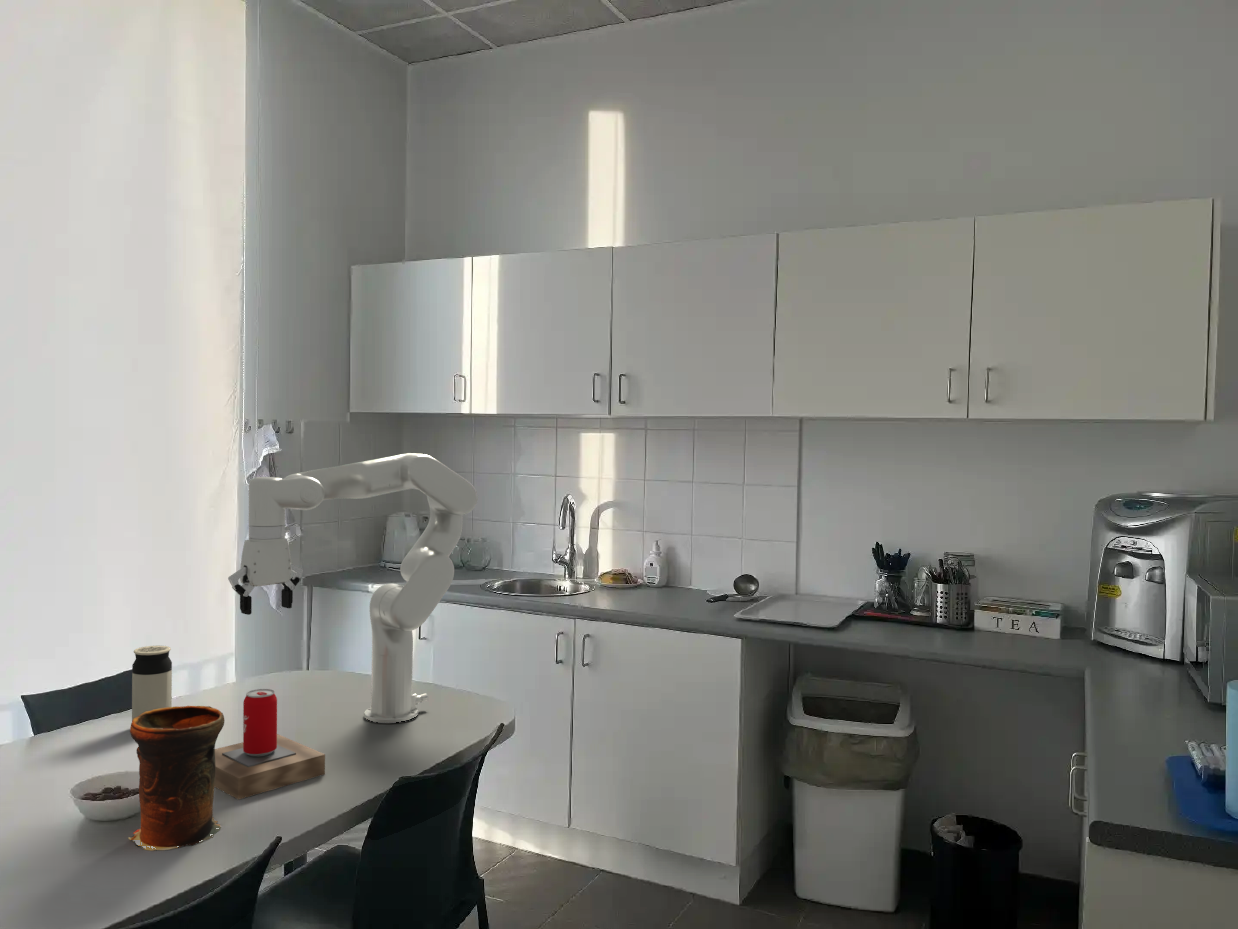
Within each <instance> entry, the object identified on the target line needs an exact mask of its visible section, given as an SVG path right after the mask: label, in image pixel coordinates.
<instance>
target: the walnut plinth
mask: <svg viewBox="0 0 1238 929" xmlns="http://www.w3.org/2000/svg"><path fill="white" fill-rule="evenodd" d="M215 765H216V768H215V787H214V788H216V789H218V790H220V791H222V792H223V791H224V792H223V793H225V794H227V795H229V796H230V797H232V798H234V797H235V799H236V800H237V801H238V800H242V799H245V797H246V798H249V797H251V796H256V795H259V794H263V793H265V792H269V791H272V790H277V789H279V788H283V787H287V786H289V785H293V784H296V783H300V782H304V781H306V780H310V779H314V778H316V777H321V776H324V775H326V754H325V753H323V752H321V751H318V750H316V749H314V748H311V747H308V746H307V745H304V744H302V743H299V742H297V741H295V740H293V739H290V738H288V737H286V736H283V735H281V734H278V733H277V748H276V750H274V751H273V752H272V753H271V754H268V755H265V756H249V755H248V754H246V753H245V752H244V751H243V741H242V742H238V743H235V744H230V745H226V746H223V747H222V746H221V747H218V748H215ZM320 775H321V776H320ZM262 792H263V793H262Z"/></svg>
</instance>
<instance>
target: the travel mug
mask: <svg viewBox="0 0 1238 929" xmlns="http://www.w3.org/2000/svg"><path fill="white" fill-rule="evenodd" d="M171 650H172V649H171V647H170V646H166V645H148V646H147V645H146V646H141V647H137V648H135V649H134V650H133V653H134V655H135V658H134V661H133V663H132V666H131V668H132V671H131V672H132V673H131V675H132V678H131V685H132V686H131V722H132V721H133V719H134V718H136V717H138V716H139V715H141V714H142V713H144V712H146V711H151V710H154V709H159V708H166V707H173V706H172V699H173V698H172V696H173V695H172V690H173V687H172V686H173V685H172V684H173V683H172V681H173V679H172V678H173V675H172V674H173V662H172V660H171V658H170V651H171Z"/></svg>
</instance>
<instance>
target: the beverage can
mask: <svg viewBox="0 0 1238 929" xmlns="http://www.w3.org/2000/svg"><path fill="white" fill-rule="evenodd" d="M242 711H243V716H242V719H243V721H242V722H243V724H242V725H243V726H242V727H243V732H242V733H243V734H242V740H243V741H242V742H243V751H244V752H245V753H246V754H248V755H249V756H265V755H268V754H271V753H272V752H273V751H274V750H276V748H277V734H278V698H277V696H276V694H275V690H273V689H270V688H257V689H253V690H249V691H247V692H246V695H245V698H244V699H243V710H242Z"/></svg>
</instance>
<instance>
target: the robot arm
mask: <svg viewBox="0 0 1238 929" xmlns="http://www.w3.org/2000/svg"><path fill="white" fill-rule="evenodd" d="M412 489H413V490H418V491H420V492H421V493H423V494H424V495H425V496H426V499H427V503H428V507H429V514H430V515H429V520H428V523H427V526H426V527H425V529H424V531H423V532H422V534H421V535H420V536H419V537H418V539H417V540H416V542H415V543H414V544H413V546H412V547H411V549H410V550H409V551H408V552H407V554H406V555H405V556H404V557H403V560H402V561H401V564H400V571H399V572H400V575H401V577H402V579H403V580H404V581H406V582H405V584H404V585H402V584H397V583H385V584H383V585H381V586H379V587H377V589H376V590H374V592H373V594H372V596H371V597H370V602H369V618H370V624H371V625H370V626H371V685H370V688H371V689H370V690H371V692H370V707H369V708H366V709H365V711H364V712H363V718H364V719H365V718H366V719H365V720H367V719H368V720H370V721H369V722H371V721H373V722H372V723H376V722H378V724H397V723H396V722H399V723H402V722H401V721H405V720H408V719H410V718H414V717H416V716H417V715H418V716H419V709H418V707H416V706H418V704H421V703H425V702H428V701H429V696H428V694H427V693H423V694H419V695H418V694H417V693H413V662H414V661H413V658H414V656H413V655H414V654H413V653H414V652H413V651H414V637H413V635H414V634H413V631H415V630H416V629H418V628H420V627H421V626H422V625H423V624H424V623H425V622H426V621H427V620H428V619H429V617H430V616H431V614H432V613H433V611H434V610H435V609H436V607H437V606H438V604H439V603H440V601H441V600H442V599H443V597H444V596H445V594H446V593H447V591H448V590H449V588H450V587H451V585H452V583H453V580H454V576H455V566H454V563H453V561H452V559H451V558H450V555H451V554H452V552H453V551H454V549H455V548H456V546H457V545H458V543H459V541H460V538H461V536H462V534H463V532H462V531H463V526H464V524H463V522H464V521H463V520H464V519H463V516H464V515H468V514H470V513H471V512H472V511H473V510H474V509H475V507H476V506H477V504H478V498H479V497H478V496H479V495H478V492H477V490H476V487H475V486H474V485H473V484H472V482H470V481H469V480H467V479H466V478H464V477H463V476H462V475H460V474H459V473H457V472H456V471H454V470H452V469H451V468H449V467H448V466H447V465H445V464H444V463H442V462H441V461H439V460H438V459H436V458H434V457H432V456H431V455H428V454H425V453H424V454H423V453H415V452H413V453H411V452H407V453H401V454H397V455H392V456H391V455H390V456H385V457H381V458H375V459H369V460H365V461H359V462H352V463H347V464H343V465H342V464H341V465H337V466H330V467H324V468H318V469H311V470H308V471H301V472H298V473H292V474H289V475H287V476H284V477H283V478H282V477H276V476H258V477H257V476H256V477H253V478H251V479H250V480H249V483H248V539H246V540H244V544H243V548H242V553H241V560H240V568H239V570H237V571H235V572H234V573H232V574H230V575H229V576H228V578H227V579H228V580H227V581H228V582H229V583H230V585H231V588H232V590H233V591H235V592H236V593H237V595H238V596H239V610H240V613H241V614H244V615H247V616H248V615H251V614H252V613H253V612H252V609H253V608H252V605H253V604H252V599H253V598H252V596H251V595H250V594H251V593H252V591H253V590H254V588H255V587H263V586H265V587H266V586H272V585H281V586H282V587H283V588H282V589H281V592H280V593H281V594H280V595H281V598H280V599H281V602H280V603H281V607H282V608H285V609H292V608H293V602H294V598H293V596H294V593H293V592H294V591H295V589H296V586H297V585H298V584H299V582H300V581H301V578H302V575H303V573H304V569H303V568H301V567H300V566H297V565H295V564H293V563H292V558H291V550H290V545H289V539H288V538H287V537H286V536H287V535H286V534H287V533H290V532H291V528H290V526H289V525H288V526H286V509H288V510H289V509H290V510H299V511H309V510H313V509H315V508H317V507H319V505H320V504H322V502H323V501H327V500H335V499H337V500H338V499H352V500H353V499H354V500H355V499H356V500H359V499H368V498H373V497H377V496H381V495H386V494H391V493H395V492H396V493H397V492H402V491H406V490H407V491H408V490H412ZM292 572H293V576H292ZM239 580H240V582H239ZM240 583H241V584H240ZM418 716H417V717H418ZM417 717H416V718H417ZM414 719H415V718H414ZM368 720H367V721H368ZM405 722H406V721H405Z"/></svg>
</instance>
